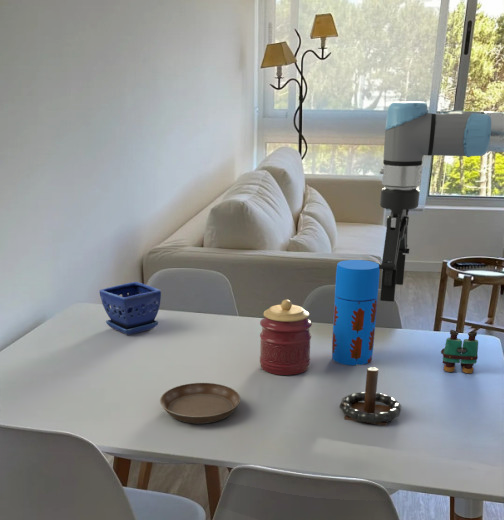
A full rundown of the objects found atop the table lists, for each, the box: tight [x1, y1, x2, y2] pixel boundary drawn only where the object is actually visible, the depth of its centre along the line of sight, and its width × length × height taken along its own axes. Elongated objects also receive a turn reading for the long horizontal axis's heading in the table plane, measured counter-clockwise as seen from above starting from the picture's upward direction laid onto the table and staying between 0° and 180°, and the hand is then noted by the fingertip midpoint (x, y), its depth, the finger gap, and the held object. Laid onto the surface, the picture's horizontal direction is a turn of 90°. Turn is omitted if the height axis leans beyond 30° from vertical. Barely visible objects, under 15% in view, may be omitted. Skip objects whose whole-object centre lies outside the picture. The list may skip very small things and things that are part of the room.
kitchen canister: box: [259, 299, 313, 376], centre depth 178 cm, size 13×13×18 cm
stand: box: [343, 366, 391, 426], centre depth 152 cm, size 9×9×12 cm
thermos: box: [331, 259, 381, 366], centre depth 182 cm, size 11×11×25 cm
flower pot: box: [99, 281, 162, 336], centre depth 206 cm, size 13×13×12 cm
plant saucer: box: [159, 382, 241, 425], centre depth 157 cm, size 18×18×3 cm
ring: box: [339, 391, 402, 424], centre depth 154 cm, size 13×13×2 cm
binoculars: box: [440, 329, 479, 374], centre depth 180 cm, size 9×11×10 cm
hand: (392, 292), depth 149 cm, fingers open, 13 cm apart
